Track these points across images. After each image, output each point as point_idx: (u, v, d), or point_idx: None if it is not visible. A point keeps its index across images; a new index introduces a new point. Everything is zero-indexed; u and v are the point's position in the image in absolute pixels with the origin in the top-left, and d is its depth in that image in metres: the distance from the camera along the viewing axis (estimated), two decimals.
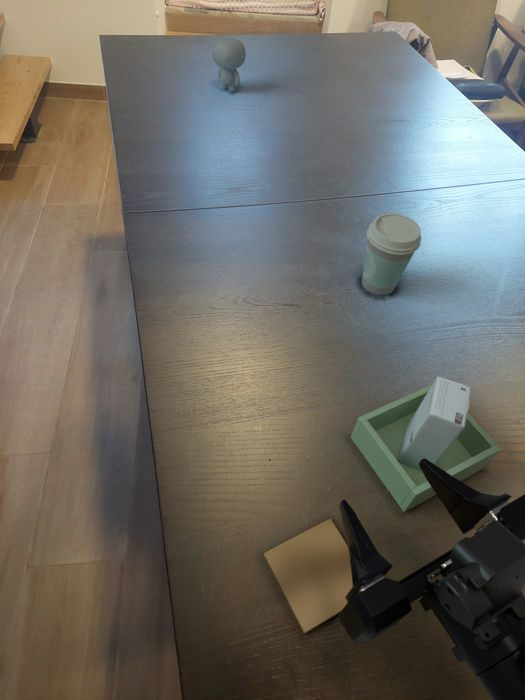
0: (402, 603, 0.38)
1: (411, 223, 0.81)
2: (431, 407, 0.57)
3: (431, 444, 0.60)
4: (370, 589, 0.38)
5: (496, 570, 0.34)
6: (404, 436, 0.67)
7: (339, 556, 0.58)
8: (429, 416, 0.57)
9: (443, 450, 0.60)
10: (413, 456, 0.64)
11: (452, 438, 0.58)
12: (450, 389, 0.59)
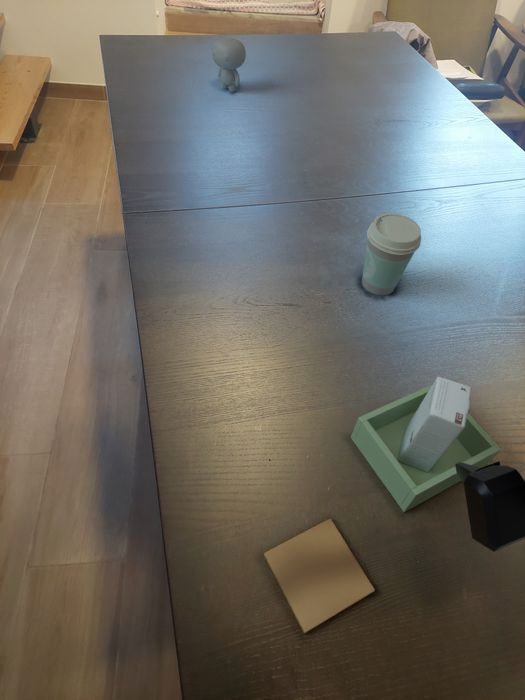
0: (512, 474, 0.41)
1: (411, 223, 0.81)
2: (431, 407, 0.57)
3: (431, 444, 0.60)
4: (479, 471, 0.43)
5: None
6: (404, 436, 0.67)
7: (339, 556, 0.58)
8: (429, 416, 0.57)
9: (443, 450, 0.60)
10: (413, 456, 0.64)
11: (452, 438, 0.58)
12: (450, 389, 0.59)
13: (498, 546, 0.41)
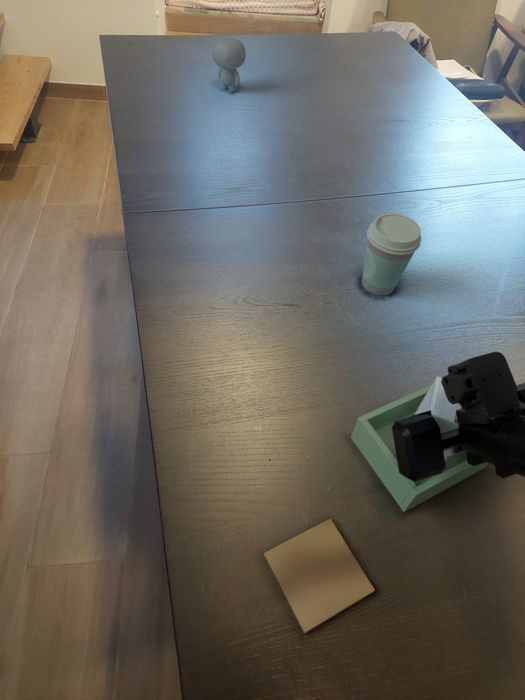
0: (429, 420, 0.52)
1: (411, 223, 0.81)
2: (430, 407, 0.57)
3: None
4: (404, 418, 0.53)
5: (471, 358, 0.51)
6: None
7: (339, 556, 0.58)
8: None
9: None
10: None
11: None
12: None
13: (416, 476, 0.51)
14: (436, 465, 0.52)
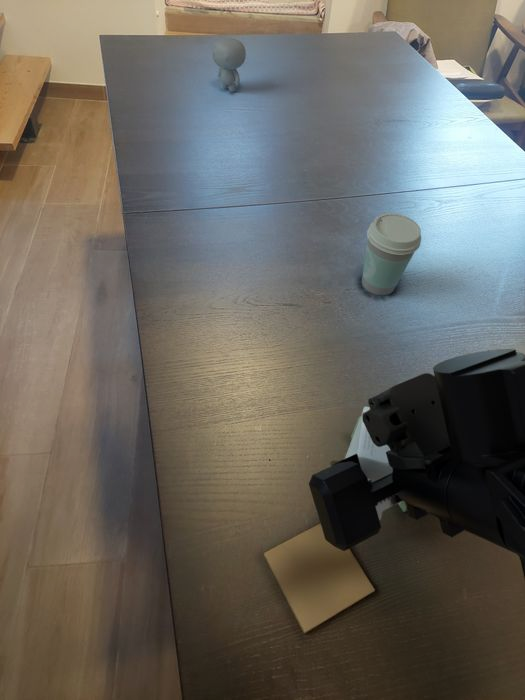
0: (353, 470, 0.41)
1: (411, 223, 0.81)
2: (358, 447, 0.46)
3: None
4: (324, 470, 0.42)
5: (395, 385, 0.40)
6: None
7: (339, 556, 0.58)
8: None
9: None
10: None
11: None
12: None
13: (345, 545, 0.40)
14: (368, 526, 0.40)
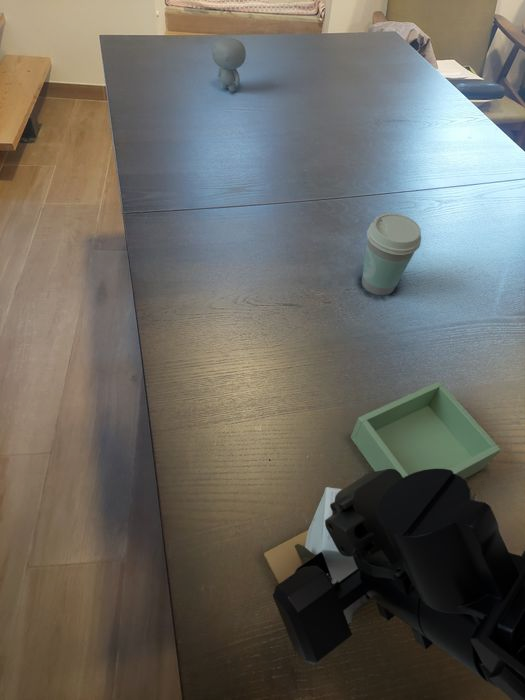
0: (319, 579, 0.38)
1: (411, 223, 0.81)
2: (323, 539, 0.43)
3: (335, 573, 0.47)
4: (288, 579, 0.39)
5: (357, 487, 0.38)
6: None
7: None
8: (322, 552, 0.43)
9: None
10: None
11: (357, 568, 0.45)
12: None
13: (315, 661, 0.37)
14: (339, 637, 0.38)
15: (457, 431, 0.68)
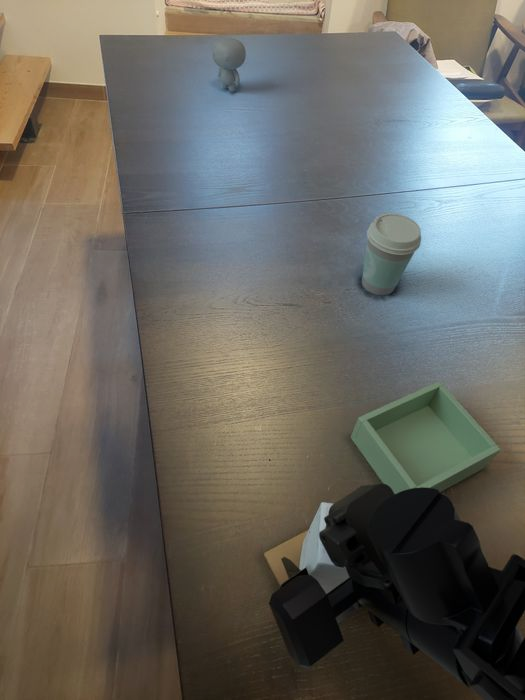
0: (313, 588, 0.40)
1: (411, 223, 0.81)
2: (318, 552, 0.46)
3: (329, 583, 0.49)
4: (283, 587, 0.41)
5: (350, 502, 0.40)
6: (300, 560, 0.56)
7: None
8: (318, 564, 0.46)
9: None
10: None
11: None
12: None
13: (309, 666, 0.39)
14: (331, 643, 0.40)
15: (457, 431, 0.68)
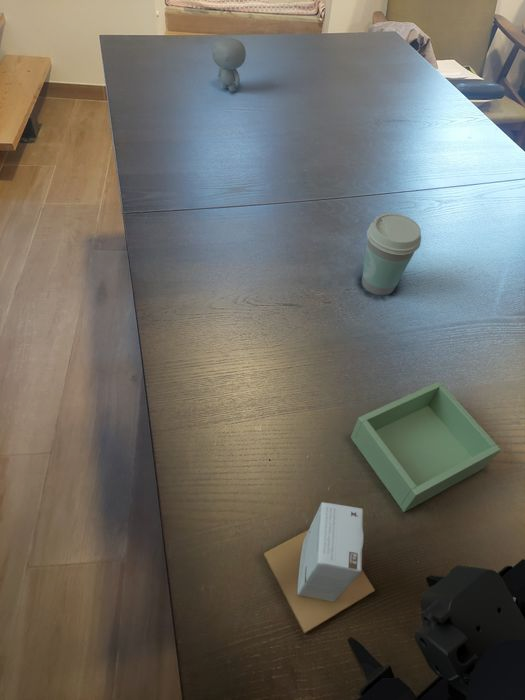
0: (405, 698, 0.33)
1: (411, 223, 0.81)
2: (318, 552, 0.46)
3: (329, 583, 0.49)
4: (367, 694, 0.34)
5: (453, 595, 0.32)
6: (300, 560, 0.56)
7: None
8: (318, 565, 0.46)
9: (344, 587, 0.50)
10: (313, 592, 0.53)
11: (351, 579, 0.47)
12: (338, 518, 0.48)
13: None
14: None
15: (457, 431, 0.68)
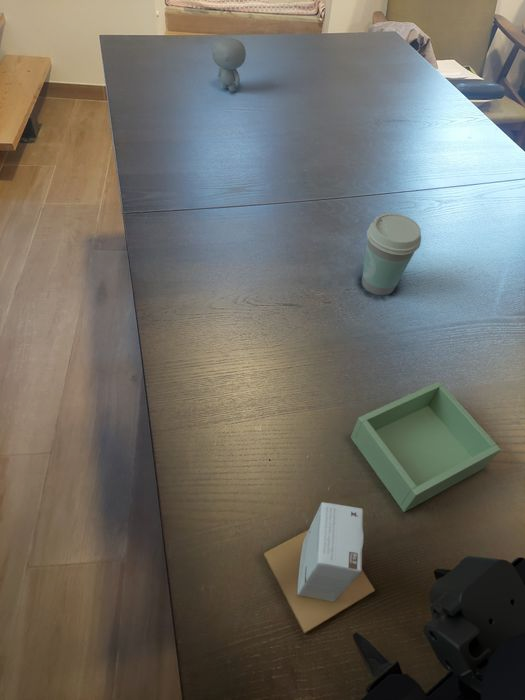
0: (414, 695, 0.31)
1: (411, 223, 0.81)
2: (318, 552, 0.46)
3: (329, 583, 0.49)
4: (374, 691, 0.32)
5: (464, 586, 0.31)
6: (300, 560, 0.56)
7: None
8: (318, 565, 0.46)
9: (344, 587, 0.50)
10: (313, 592, 0.53)
11: (351, 579, 0.47)
12: (338, 518, 0.48)
13: None
14: None
15: (457, 431, 0.68)
